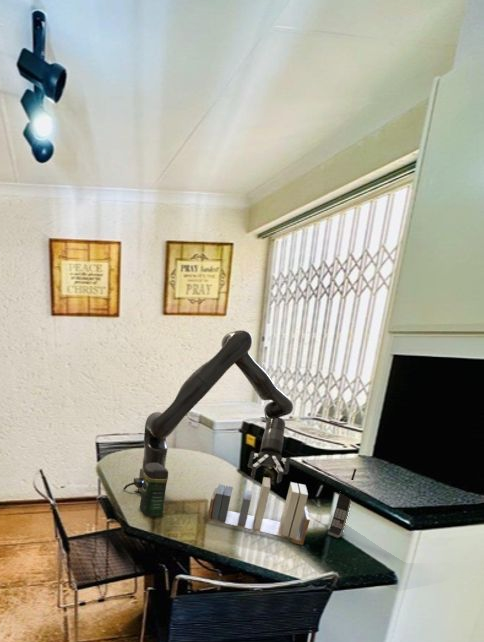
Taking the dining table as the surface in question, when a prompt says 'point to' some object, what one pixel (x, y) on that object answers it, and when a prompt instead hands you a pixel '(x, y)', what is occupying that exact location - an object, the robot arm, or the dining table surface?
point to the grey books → (223, 504)
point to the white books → (293, 509)
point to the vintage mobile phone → (340, 514)
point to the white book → (262, 503)
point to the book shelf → (264, 523)
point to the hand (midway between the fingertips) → (265, 479)
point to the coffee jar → (153, 490)
